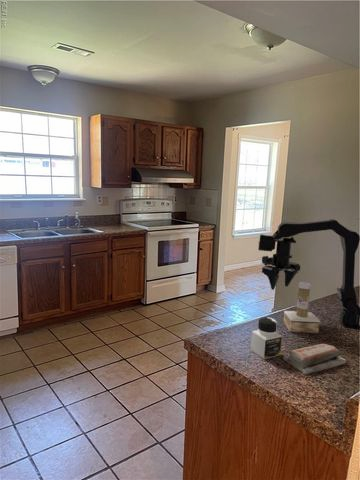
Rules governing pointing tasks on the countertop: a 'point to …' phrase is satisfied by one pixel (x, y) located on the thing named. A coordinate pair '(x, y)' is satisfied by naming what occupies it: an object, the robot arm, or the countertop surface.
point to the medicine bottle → (266, 339)
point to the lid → (294, 317)
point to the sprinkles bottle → (303, 299)
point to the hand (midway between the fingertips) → (279, 287)
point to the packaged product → (315, 358)
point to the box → (301, 326)
